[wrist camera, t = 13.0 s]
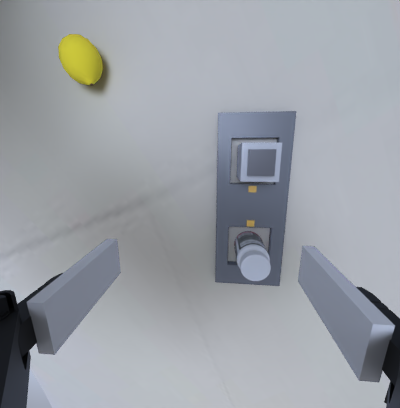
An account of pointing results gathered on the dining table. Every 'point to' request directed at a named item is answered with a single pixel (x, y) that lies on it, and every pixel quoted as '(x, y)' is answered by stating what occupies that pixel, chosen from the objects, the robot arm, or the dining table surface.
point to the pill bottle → (252, 256)
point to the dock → (252, 191)
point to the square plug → (259, 162)
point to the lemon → (80, 59)
